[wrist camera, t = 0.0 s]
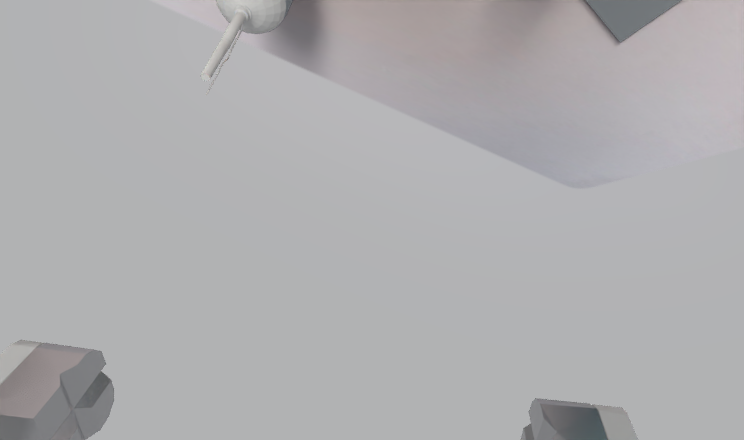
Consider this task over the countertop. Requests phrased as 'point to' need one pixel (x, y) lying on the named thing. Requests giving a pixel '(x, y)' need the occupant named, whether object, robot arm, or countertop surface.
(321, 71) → the countertop surface
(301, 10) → the countertop surface
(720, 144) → the countertop surface
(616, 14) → the mat
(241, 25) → the humidifier
